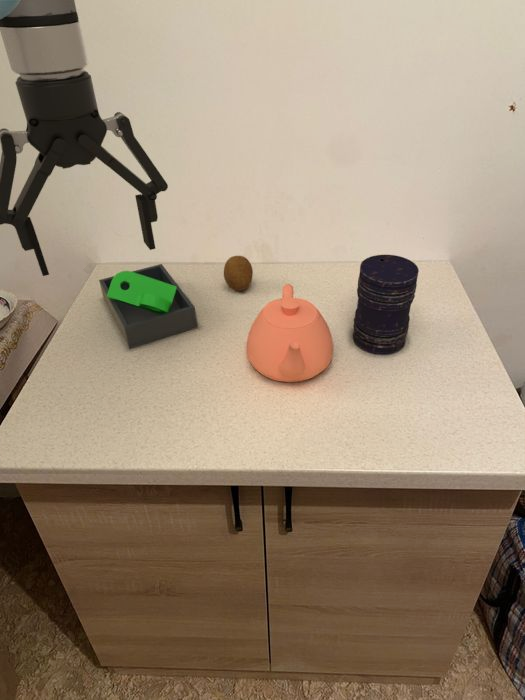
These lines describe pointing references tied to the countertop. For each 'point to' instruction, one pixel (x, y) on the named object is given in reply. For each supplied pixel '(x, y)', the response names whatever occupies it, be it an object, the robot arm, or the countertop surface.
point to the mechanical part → (142, 292)
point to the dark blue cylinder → (384, 303)
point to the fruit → (238, 273)
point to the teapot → (289, 339)
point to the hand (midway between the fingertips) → (99, 257)
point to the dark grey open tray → (147, 324)
